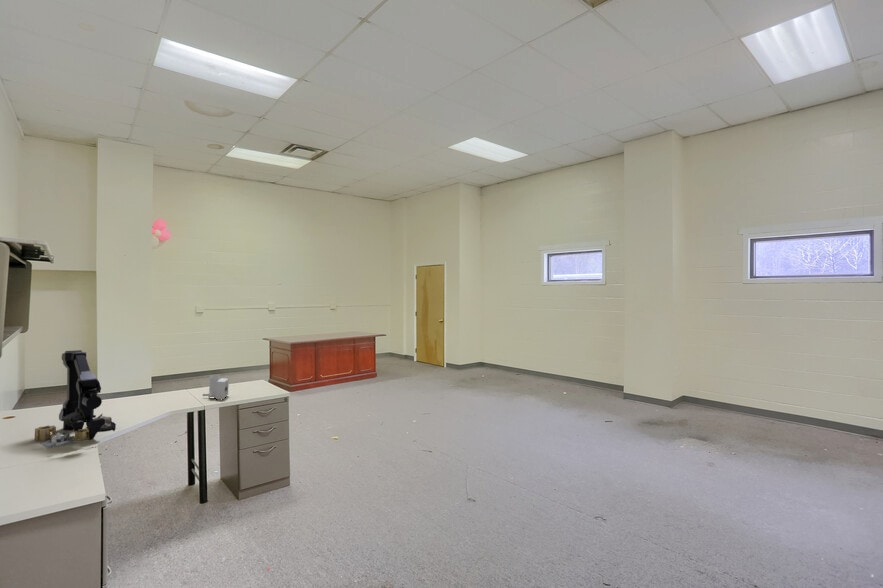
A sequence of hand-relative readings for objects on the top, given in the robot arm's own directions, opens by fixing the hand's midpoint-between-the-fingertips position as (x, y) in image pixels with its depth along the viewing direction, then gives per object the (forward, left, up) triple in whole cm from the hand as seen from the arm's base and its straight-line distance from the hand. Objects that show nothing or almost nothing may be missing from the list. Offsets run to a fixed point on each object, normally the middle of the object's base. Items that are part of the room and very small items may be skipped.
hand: (84, 438), depth 202 cm
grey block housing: (-42, +82, -1) cm, 93 cm away
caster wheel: (-11, +11, -1) cm, 16 cm away
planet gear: (0, 0, -1) cm, 1 cm away
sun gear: (-4, -8, 0) cm, 9 cm away
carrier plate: (-4, -10, -1) cm, 10 cm away
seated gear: (-10, -12, 0) cm, 15 cm away
